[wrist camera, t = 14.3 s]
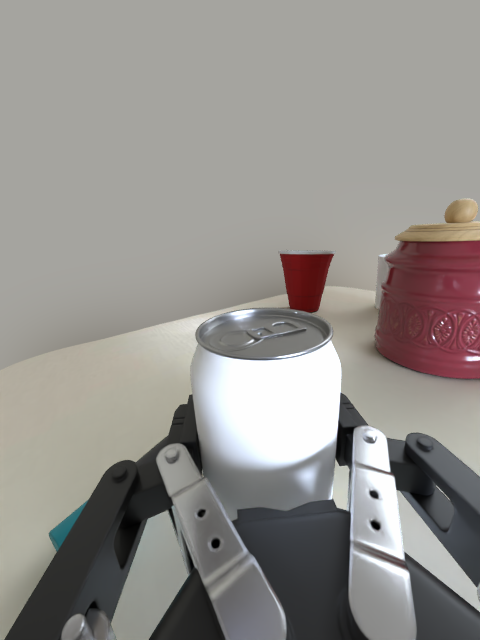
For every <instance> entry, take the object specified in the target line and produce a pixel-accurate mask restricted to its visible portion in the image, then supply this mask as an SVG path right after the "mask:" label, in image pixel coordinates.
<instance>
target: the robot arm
mask: <svg viewBox="0 0 480 640" xmlns="http://www.w3.org/2000/svg"><path fill="white" fill-rule="evenodd" d="M335 458H336V460H337V462H338V464H339V466H345V465H348V467H349V469H350V471H349V485H348V504H347V511H346V510H343V509H339V508H337V507H336V505H335V503H334V500H333V499H330V500H321V501H312V502H308V503H305V504H303V505H301V506H298V507H296V508H293V509H291V510H288V511H283V510H277V509H271V508H264V507H256V508H247V509H237V519H235V520H233V521H231V520H230V518H229V516H228V514H227V513H226V511H225V509H224V507H223V505H222V504H221V502H220V500H219V498H218V496H217V495H216V493H215V491H214V489H213V487H212V486H211V484H210V482H209V480H208V479H207V478H206V477H204V478H203V477H202V462H201V454H200V447H199V440H198V432H197V425H196V417H195V410H194V402H193V395H189V399H188V404H183V405H180V406H179V407H178V408H177V409H176V411H175V413H174V417H173V421H172V425H171V428H170V432H169V435H168V439H167V443H166V446H165V447H164V448H163V449H162V450H161V451H160V452H159V453H158V455H157V458H156V459H154V460H152V461H150V462H148V463H145V464H143V465H140V466H137V465H136V463H135V462H133V461H131V460H124V461H120V462H118V463H116V464H114V465H113V466H111V467H110V468H109V469H108V470H107V471H106V472H105V473H104V475H103V477H102V478H101V480H100V482H99V483H98V485H97V487H96V488H95V490H94V492H93V493H92V495H91V497H90V498H89V500H88V502H87V503H86V505H85V507H84V508H83V510H82V512H81V513H80V515H79V517H78V518H77V520H76V521H75V523H74V525H73V526H72V528H71V530H70V531H69V533H68V535H67V536H66V538H65V540H64V541H63V543H62V545H61V546H60V548H59V550H58V551H57V553H56V555H55V556H54V558H53V560H52V561H51V563H50V565H49V566H48V568H47V570H46V571H45V573H44V575H43V576H42V578H41V580H40V581H39V583H38V585H37V586H36V588H35V590H34V591H33V593H32V595H31V596H30V598H29V599H28V601H27V603H26V604H25V606H24V608H23V609H22V611H21V613H20V614H19V616H18V618H17V619H16V621H15V623H14V624H13V626H12V628H11V629H10V631H9V633H8V634H7V636H6V638H5V639H4V640H117V639H116V636H115V633H114V631H113V628H112V626H111V621H112V618H113V615H114V612H115V610H116V607H117V604H118V601H119V598H120V595H121V593H122V590H123V587H124V584H125V581H126V579H127V576H128V573H129V570H130V567H131V564H132V562H133V559H134V556H135V553H136V550H137V548H138V545H139V542H140V539H141V536H142V534H143V531H144V528H145V525H146V522H147V519H148V518H150V517H153V516H155V515H157V514H159V513H162V512H164V511H166V510H167V511H168V514H169V517H170V520H171V523H172V525H173V528H174V531H175V534H176V537H177V540H178V543H179V546H180V550H181V553H182V557H183V560H184V564H185V567H186V570H187V573H188V578H187V579H186V581H185V582H184V584H183V586H182V587H181V589H180V590H179V592H178V594H177V595H176V597H175V598H174V600H173V602H172V603H171V605H170V606H169V608H168V610H167V611H166V613H165V614H164V616H163V618H162V619H161V621H160V622H159V624H158V625H157V627H156V629H155V630H154V632H153V633H152V635H151V637H150V638H149V640H480V612H479V611H478V610H477V609H475V608H474V607H473V606H472V605H470V604H469V603H468V602H467V601H465V600H464V599H463V598H462V597H460V596H459V595H458V594H457V593H455V592H454V591H453V590H452V589H450V588H449V587H448V586H447V585H445V584H444V583H443V582H442V581H440V580H439V579H438V578H437V577H435V576H434V575H433V574H432V573H430V572H429V571H428V570H427V569H425V568H424V567H423V566H422V565H420V564H419V563H418V562H417V561H415V560H414V559H413V558H412V557H410V556H409V555H408V554H407V553H405V552H404V547H403V540H402V532H401V524H400V516H399V508H398V500H397V492H396V490H399V491H400V492H401V493H402V494H403V496H404V497H405V498H406V499H407V501H408V502H409V503H410V504H411V506H412V507H413V508H414V509H415V511H416V512H417V513H418V514H419V516H420V517H421V518H422V519H423V521H424V522H425V523H426V524H427V526H428V527H429V528H430V529H431V531H432V532H433V533H434V534H435V536H436V537H437V538H438V539H439V541H440V542H441V543H442V544H443V546H444V547H445V548H446V549H447V551H448V552H449V553H450V554H451V556H452V557H453V558H454V559H455V561H456V562H457V563H458V564H459V566H460V567H461V568H462V569H463V571H464V572H465V573H466V574H467V576H468V577H469V578H470V579H471V581H472V582H473V583H474V584H475V586H476V587H477V595H478V599H479V601H480V477H479V476H478V475H477V474H476V473H475V472H474V471H472V470H471V469H470V468H469V467H468V466H467V465H465V464H464V463H463V462H462V461H461V460H459V459H458V458H457V457H456V456H455V455H454V454H452V453H451V452H450V451H449V450H448V449H446V448H445V447H444V446H443V445H442V444H441V443H439V442H438V441H437V440H436V439H434V438H432V437H430V436H428V435H425V434H422V433H410V434H408V435H407V437H406V441H402V440H396V439H390V438H386V436H385V435H384V434H383V433H382V432H381V431H380V430H378V429H376V428H374V427H371V426H368V424H367V423H366V422H365V420H364V419H363V418H362V416H361V415H360V414H359V412H358V411H357V410H356V409H355V407H354V406H353V405H352V403H351V402H350V401H349V399H348V398H347V397H346V396H345V395H344V394H342V393H341V392H340V404H339V417H338V430H337V443H336V455H335ZM436 485H437V486H438V487H439V488H440V489H441V490H442V491H443V492H444V493H445V494H446V495H447V496H448V497H449V499H450V500H451V501H450V500H449V499H448V498H447V497H446V496H445V495H444V494H443V493H442V492H441V491H440V490H439V489H438V488H437V487H436Z"/></svg>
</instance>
